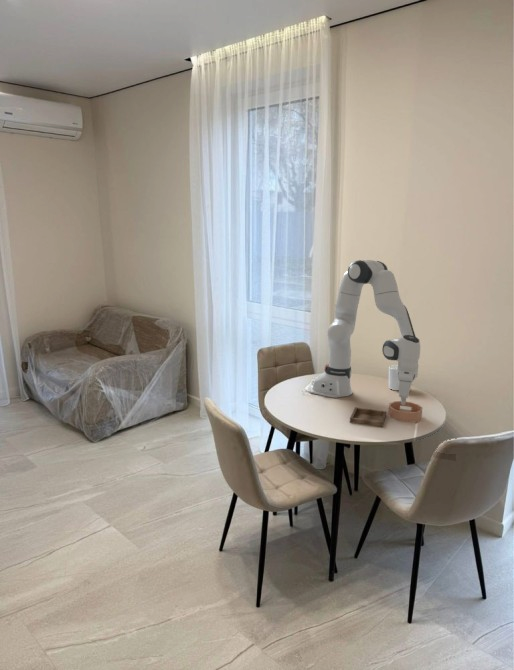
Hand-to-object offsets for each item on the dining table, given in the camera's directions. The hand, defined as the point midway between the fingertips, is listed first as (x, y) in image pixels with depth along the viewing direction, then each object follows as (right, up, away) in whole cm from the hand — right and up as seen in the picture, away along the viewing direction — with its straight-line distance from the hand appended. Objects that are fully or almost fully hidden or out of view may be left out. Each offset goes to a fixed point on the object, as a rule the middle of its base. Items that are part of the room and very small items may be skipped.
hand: (404, 400), depth 222 cm
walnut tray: (-17, -9, -3) cm, 19 cm away
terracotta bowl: (+1, -8, +2) cm, 8 cm away
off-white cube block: (+1, -7, +2) cm, 7 cm away
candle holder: (+8, +1, +41) cm, 42 cm away
